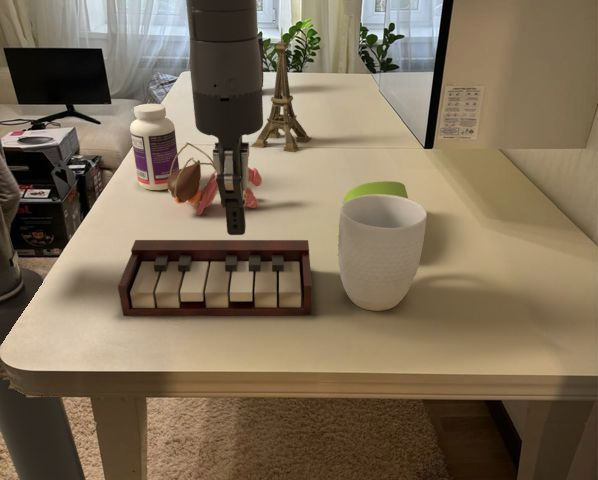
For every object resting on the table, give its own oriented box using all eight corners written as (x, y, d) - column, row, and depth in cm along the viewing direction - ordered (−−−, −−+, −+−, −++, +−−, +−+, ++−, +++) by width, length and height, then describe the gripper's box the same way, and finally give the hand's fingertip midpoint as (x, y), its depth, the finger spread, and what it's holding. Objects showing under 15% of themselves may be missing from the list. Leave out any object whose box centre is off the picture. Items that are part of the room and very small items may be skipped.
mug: (369, 262, 92) (377, 179, 84) (437, 282, 87) (452, 196, 79) (319, 304, 81) (323, 214, 74) (393, 330, 77) (405, 236, 69)
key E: (180, 301, 78) (179, 292, 77) (188, 270, 85) (187, 261, 84) (203, 301, 78) (202, 292, 77) (209, 270, 85) (208, 261, 84)
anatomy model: (278, 195, 104) (217, 133, 95) (223, 248, 107) (159, 194, 98) (266, 175, 112) (208, 116, 103) (215, 225, 115) (155, 173, 106)
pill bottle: (185, 178, 119) (177, 102, 111) (174, 193, 113) (165, 114, 104) (145, 176, 120) (135, 100, 111) (133, 191, 113) (120, 112, 105)
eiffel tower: (251, 146, 136) (248, 22, 121) (270, 133, 144) (268, 16, 129) (294, 152, 133) (296, 26, 118) (311, 138, 141) (314, 19, 126)
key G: (230, 301, 78) (229, 292, 77) (234, 270, 85) (233, 261, 84) (252, 301, 78) (252, 292, 77) (254, 270, 85) (254, 261, 84)
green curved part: (343, 161, 101) (362, 218, 86) (411, 173, 103) (441, 231, 88) (331, 203, 106) (348, 264, 90) (396, 214, 108) (423, 275, 93)
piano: (122, 315, 78) (116, 282, 75) (140, 270, 88) (135, 239, 85) (311, 315, 79) (312, 282, 76) (307, 270, 89) (308, 239, 86)
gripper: (198, 70, 69) (211, 211, 79) (183, 99, 59) (200, 257, 69) (263, 70, 69) (267, 211, 80) (260, 98, 59) (265, 256, 69)
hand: (236, 232), depth 74 cm, fingers closed
